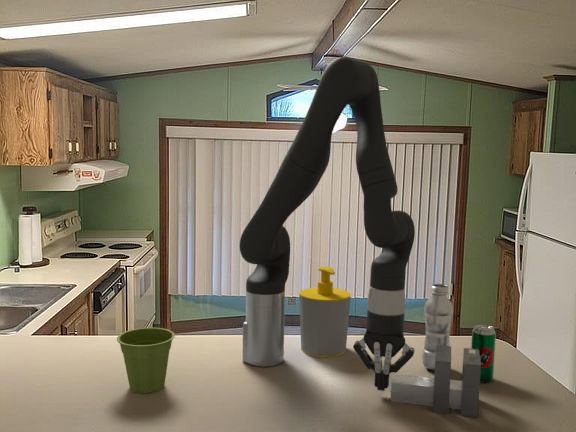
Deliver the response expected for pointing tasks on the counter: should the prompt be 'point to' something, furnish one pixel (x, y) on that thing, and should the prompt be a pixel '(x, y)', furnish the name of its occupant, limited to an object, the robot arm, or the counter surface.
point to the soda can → (485, 349)
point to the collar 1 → (442, 379)
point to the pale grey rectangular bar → (422, 390)
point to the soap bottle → (324, 318)
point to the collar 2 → (471, 382)
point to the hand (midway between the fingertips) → (381, 389)
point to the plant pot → (146, 357)
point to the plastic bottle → (436, 323)
